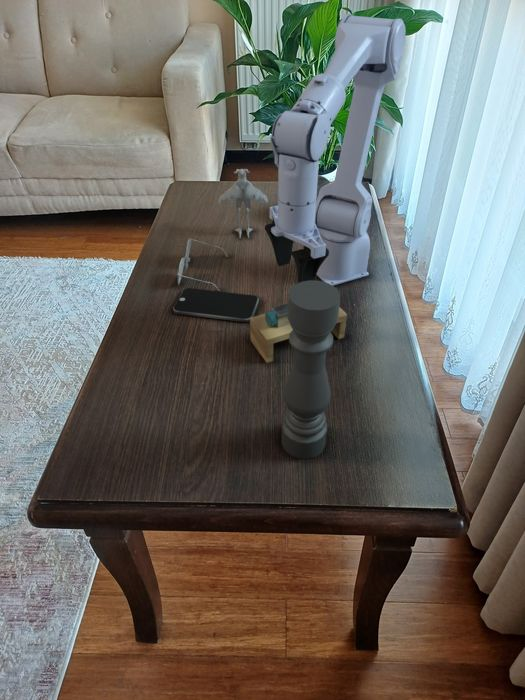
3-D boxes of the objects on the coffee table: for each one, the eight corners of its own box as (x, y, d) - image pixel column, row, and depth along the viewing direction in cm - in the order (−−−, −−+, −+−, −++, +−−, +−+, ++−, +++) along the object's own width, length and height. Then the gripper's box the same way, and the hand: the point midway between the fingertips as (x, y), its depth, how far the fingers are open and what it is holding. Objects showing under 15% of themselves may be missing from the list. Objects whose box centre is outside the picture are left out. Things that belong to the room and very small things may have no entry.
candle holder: (279, 425, 76) (282, 280, 59) (321, 422, 76) (336, 277, 59) (284, 460, 71) (289, 313, 54) (329, 457, 71) (348, 310, 55)
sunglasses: (189, 254, 112) (190, 233, 109) (227, 261, 112) (230, 240, 109) (176, 291, 101) (177, 269, 98) (218, 298, 102) (221, 277, 98)
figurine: (268, 229, 120) (268, 164, 110) (269, 237, 117) (269, 172, 107) (219, 230, 120) (215, 166, 110) (219, 239, 117) (214, 173, 107)
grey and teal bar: (321, 304, 89) (322, 292, 88) (328, 312, 88) (329, 300, 86) (264, 321, 86) (264, 309, 84) (271, 329, 84) (271, 318, 83)
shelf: (325, 317, 95) (327, 294, 92) (344, 337, 90) (347, 314, 87) (250, 340, 90) (249, 317, 87) (266, 363, 86) (266, 339, 82)
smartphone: (184, 287, 101) (259, 295, 99) (184, 290, 101) (260, 298, 99) (170, 310, 95) (250, 320, 93) (171, 313, 96) (250, 323, 93)
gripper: (252, 184, 81) (253, 260, 90) (297, 224, 71) (294, 304, 80) (291, 176, 84) (289, 250, 93) (341, 213, 74) (333, 292, 83)
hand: (294, 275), depth 87 cm, fingers open, 7 cm apart
